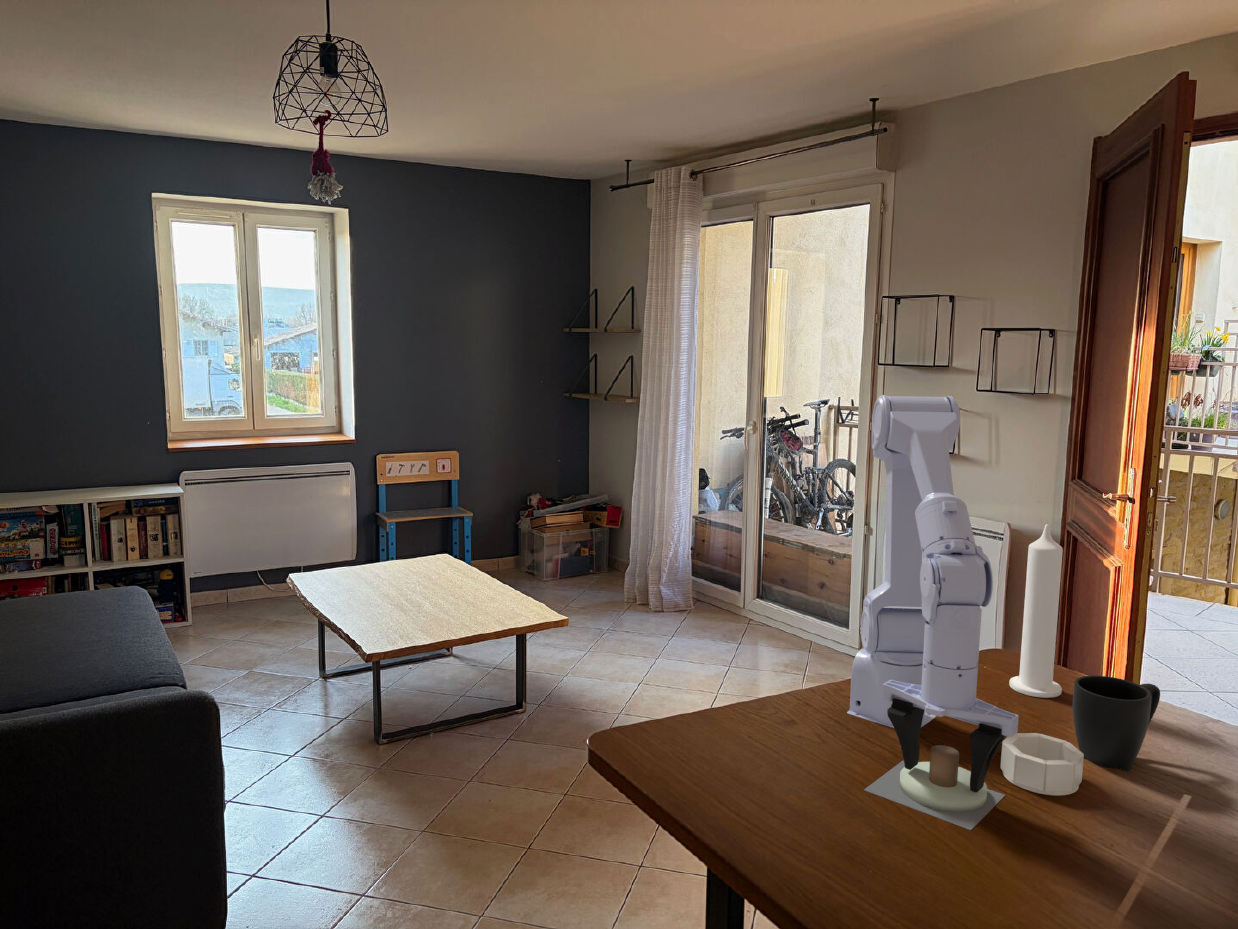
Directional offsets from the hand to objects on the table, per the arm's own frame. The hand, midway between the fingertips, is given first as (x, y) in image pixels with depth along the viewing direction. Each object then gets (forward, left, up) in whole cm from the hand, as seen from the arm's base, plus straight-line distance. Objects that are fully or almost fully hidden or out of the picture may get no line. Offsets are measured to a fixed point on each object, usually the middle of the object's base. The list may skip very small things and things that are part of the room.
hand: (943, 777), depth 98 cm
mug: (+12, +24, -2) cm, 27 cm away
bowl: (+7, +11, -2) cm, 13 cm away
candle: (-3, +41, -2) cm, 41 cm away
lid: (0, 0, -2) cm, 2 cm away
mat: (-1, -1, -2) cm, 2 cm away
